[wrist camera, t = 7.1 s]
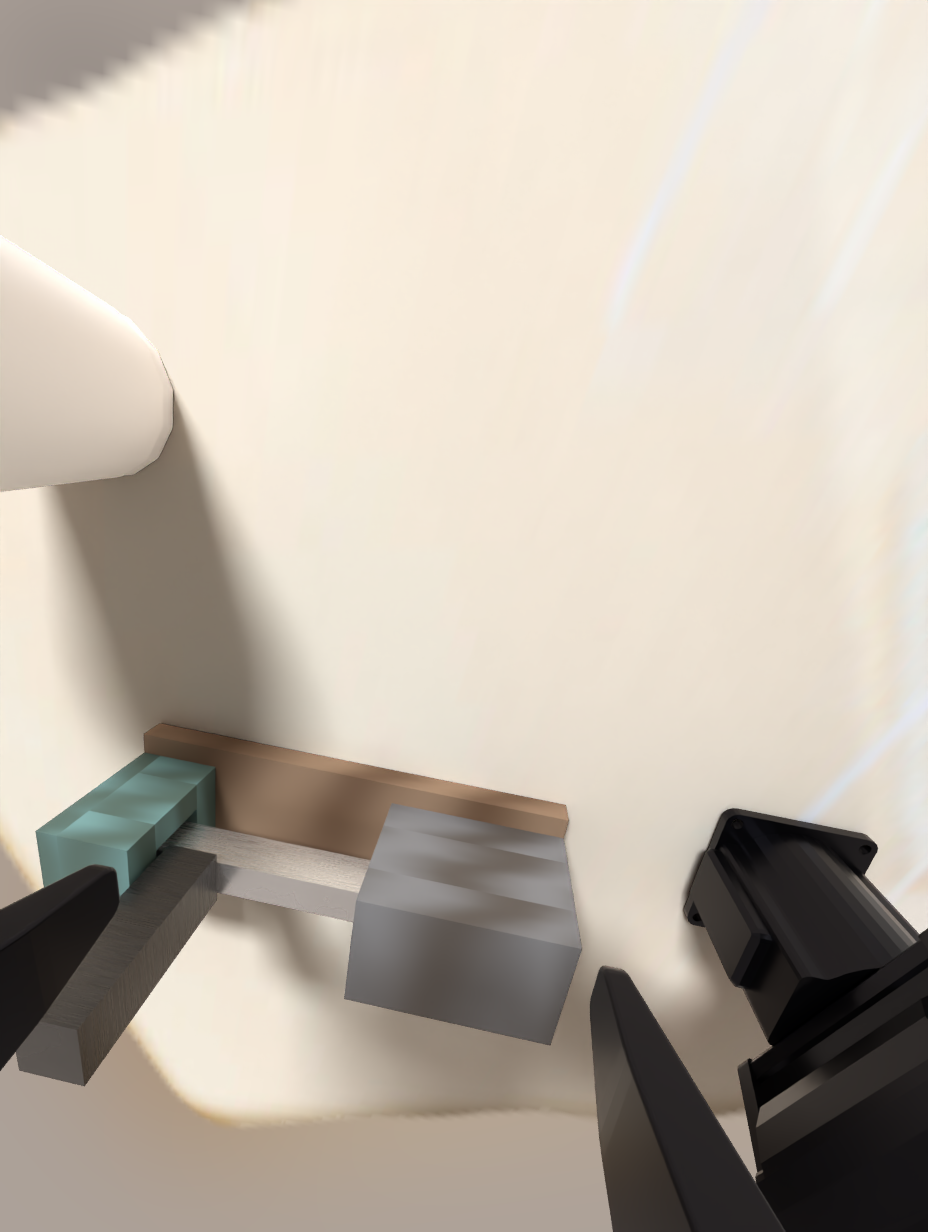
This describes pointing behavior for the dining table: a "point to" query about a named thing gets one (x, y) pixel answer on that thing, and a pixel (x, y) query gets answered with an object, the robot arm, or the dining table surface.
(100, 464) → the foam cup
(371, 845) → the wooden long base
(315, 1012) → the dining table surface
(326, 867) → the angled grey metal bar
